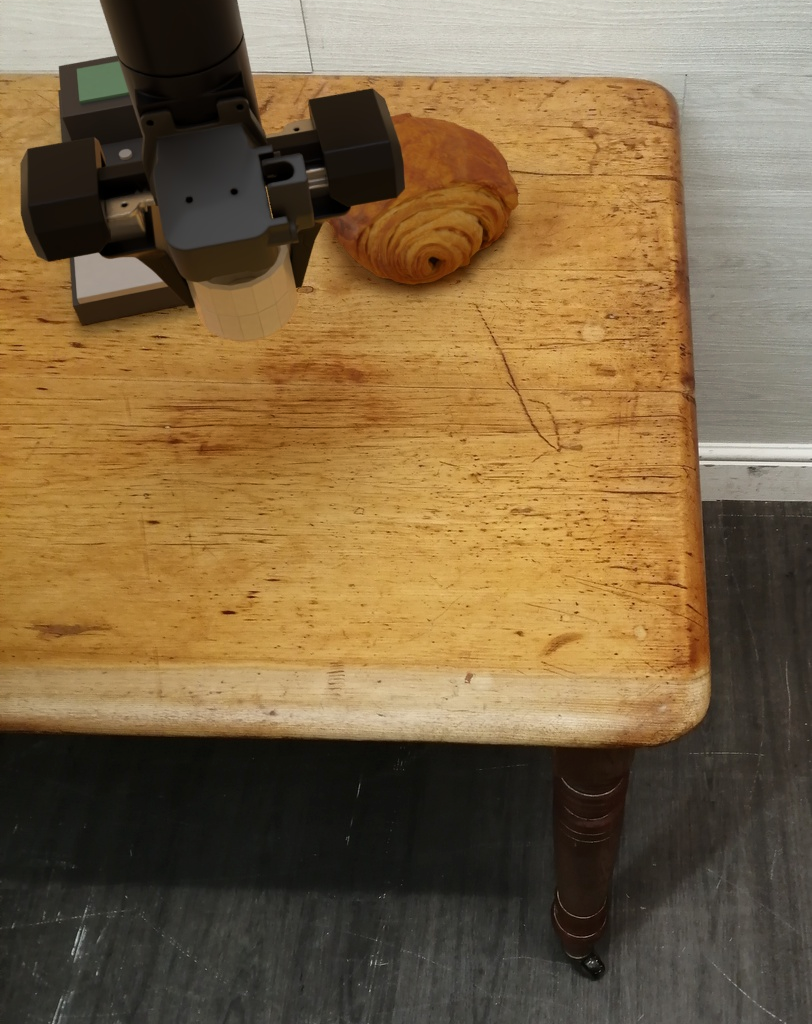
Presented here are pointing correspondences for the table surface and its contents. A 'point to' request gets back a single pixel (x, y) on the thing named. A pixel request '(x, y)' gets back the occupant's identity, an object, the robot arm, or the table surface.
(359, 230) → the croissant
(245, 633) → the table surface
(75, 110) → the scale
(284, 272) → the bowl
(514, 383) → the table surface
